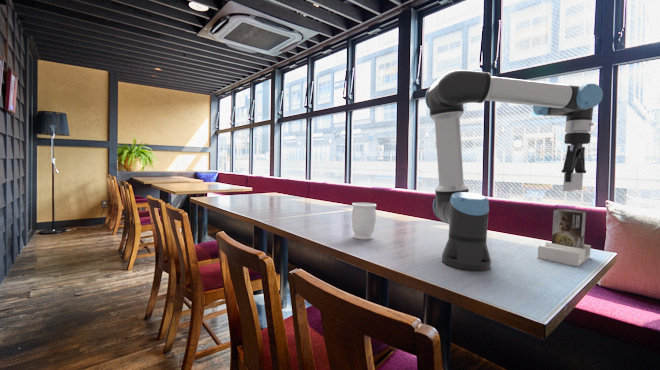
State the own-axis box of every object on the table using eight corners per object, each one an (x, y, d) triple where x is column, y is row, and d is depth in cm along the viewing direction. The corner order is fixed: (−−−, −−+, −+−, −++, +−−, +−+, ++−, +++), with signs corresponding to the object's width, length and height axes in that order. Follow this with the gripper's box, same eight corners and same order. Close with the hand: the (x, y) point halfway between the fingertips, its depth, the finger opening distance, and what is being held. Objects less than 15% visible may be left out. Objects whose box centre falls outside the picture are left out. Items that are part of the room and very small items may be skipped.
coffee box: (583, 254, 120) (587, 211, 119) (579, 257, 116) (583, 212, 114) (554, 248, 127) (557, 208, 125) (550, 251, 122) (553, 209, 121)
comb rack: (537, 257, 117) (538, 245, 117) (551, 250, 129) (552, 239, 128) (578, 266, 108) (579, 253, 108) (589, 257, 120) (590, 245, 119)
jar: (349, 239, 136) (350, 204, 135) (352, 234, 146) (353, 201, 145) (374, 241, 134) (376, 205, 133) (375, 235, 144) (377, 202, 143)
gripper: (582, 129, 107) (576, 193, 108) (597, 135, 123) (592, 190, 125) (555, 130, 112) (550, 190, 114) (573, 135, 129) (569, 188, 130)
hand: (572, 190), depth 119 cm, fingers open, 13 cm apart
